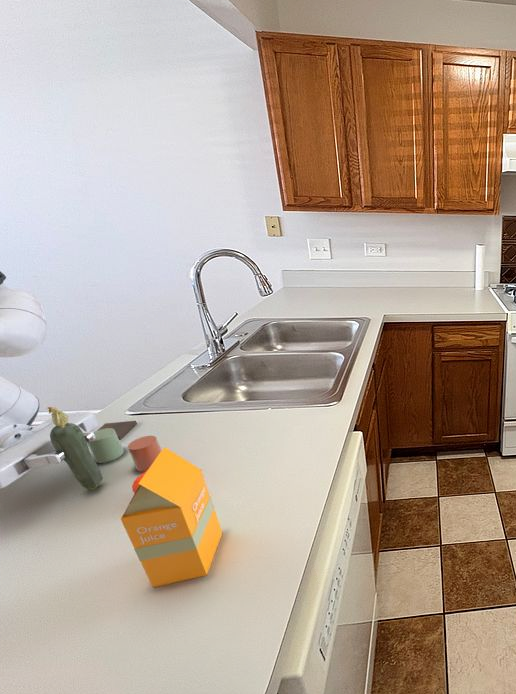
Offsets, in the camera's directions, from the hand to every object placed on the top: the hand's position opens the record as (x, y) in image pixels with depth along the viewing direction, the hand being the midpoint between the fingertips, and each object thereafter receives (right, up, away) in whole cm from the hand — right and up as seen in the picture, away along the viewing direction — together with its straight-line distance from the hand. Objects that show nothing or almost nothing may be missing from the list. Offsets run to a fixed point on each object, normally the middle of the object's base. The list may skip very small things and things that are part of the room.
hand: (77, 447), depth 77 cm
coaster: (-14, -2, +23) cm, 27 cm away
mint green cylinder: (-7, -6, +14) cm, 17 cm away
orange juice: (+30, -16, -10) cm, 35 cm away
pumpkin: (+13, -10, +4) cm, 17 cm away
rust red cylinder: (+5, -7, +12) cm, 14 cm away
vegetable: (-1, -10, +4) cm, 11 cm away
